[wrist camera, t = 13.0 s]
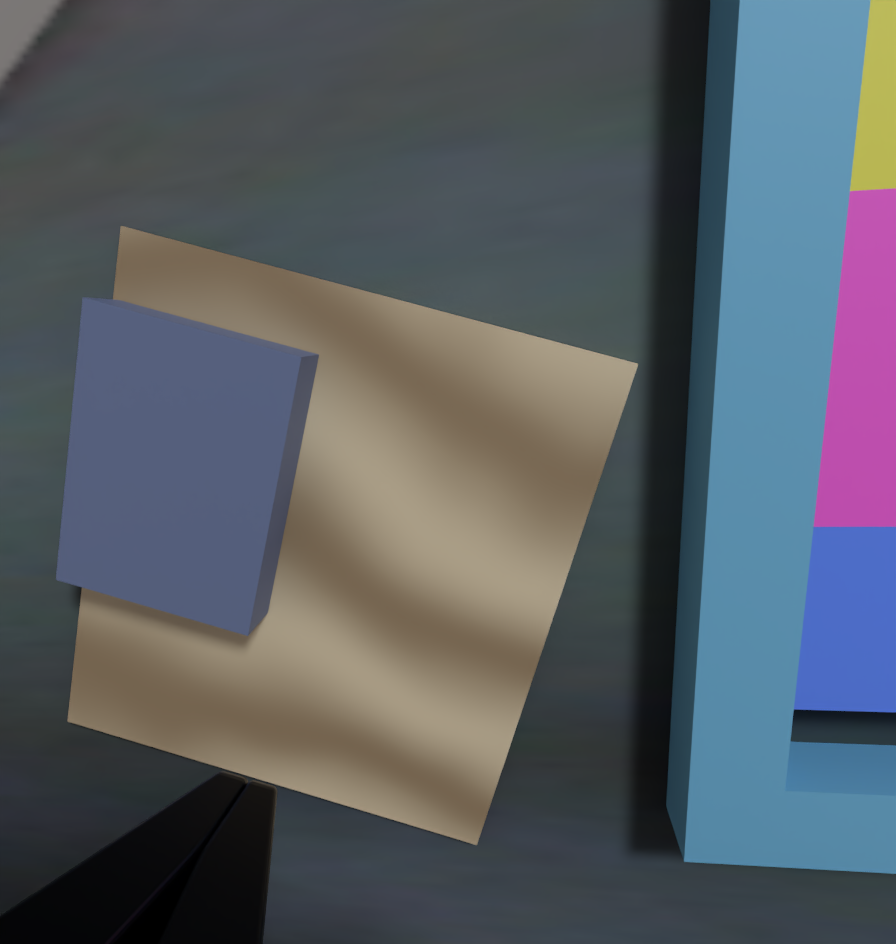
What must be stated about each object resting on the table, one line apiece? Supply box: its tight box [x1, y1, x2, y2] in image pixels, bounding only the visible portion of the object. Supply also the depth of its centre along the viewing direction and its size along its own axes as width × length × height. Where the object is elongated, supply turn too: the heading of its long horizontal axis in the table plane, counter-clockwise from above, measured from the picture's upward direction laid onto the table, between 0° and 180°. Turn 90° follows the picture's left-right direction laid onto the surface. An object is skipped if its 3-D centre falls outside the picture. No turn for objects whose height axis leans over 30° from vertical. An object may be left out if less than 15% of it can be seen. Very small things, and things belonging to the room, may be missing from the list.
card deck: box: [56, 297, 319, 636], centre depth 19 cm, size 9×2×6 cm
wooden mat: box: [68, 226, 638, 845], centre depth 20 cm, size 18×16×1 cm
